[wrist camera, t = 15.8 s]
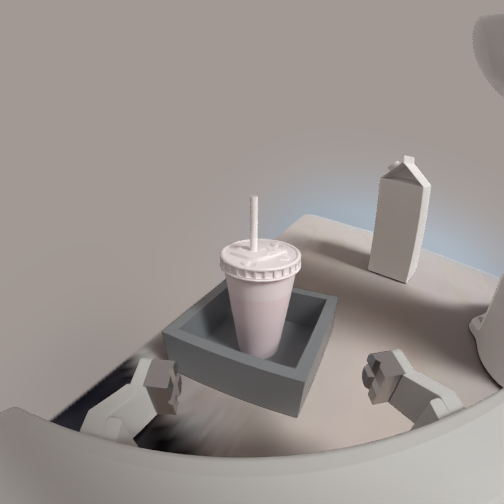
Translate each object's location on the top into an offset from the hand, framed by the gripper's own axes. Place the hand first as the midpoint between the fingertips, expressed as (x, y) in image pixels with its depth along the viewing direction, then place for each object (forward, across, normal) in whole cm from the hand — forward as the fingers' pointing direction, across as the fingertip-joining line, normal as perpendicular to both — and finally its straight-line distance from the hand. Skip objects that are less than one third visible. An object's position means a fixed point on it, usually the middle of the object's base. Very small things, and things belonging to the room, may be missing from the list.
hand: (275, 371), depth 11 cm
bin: (+12, 0, +10) cm, 16 cm away
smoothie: (+12, 0, +9) cm, 15 cm away
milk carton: (+29, -24, +10) cm, 39 cm away
